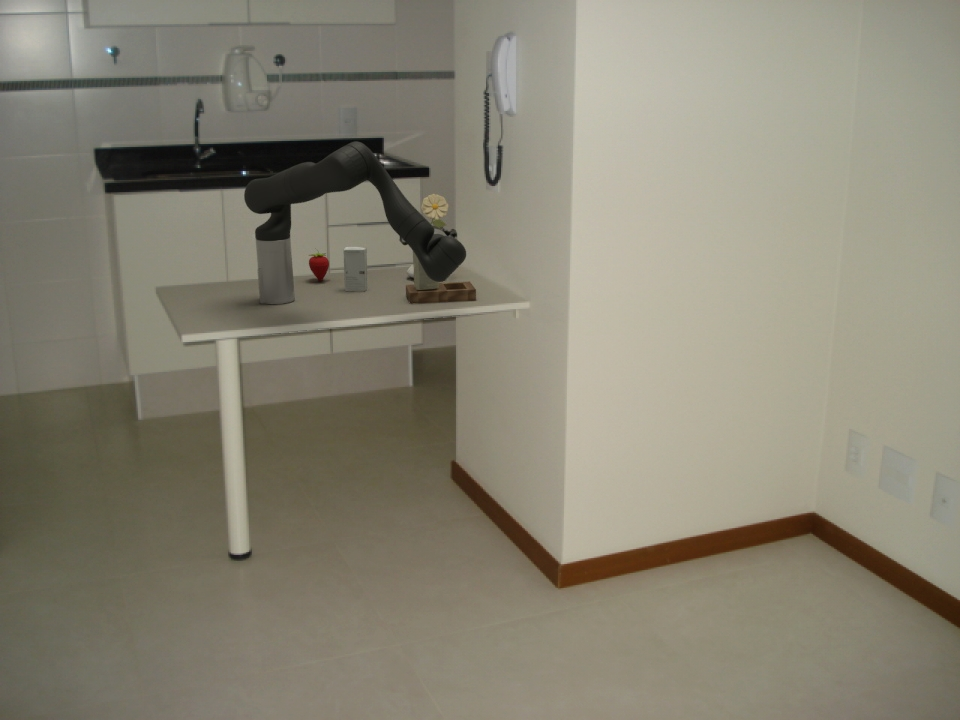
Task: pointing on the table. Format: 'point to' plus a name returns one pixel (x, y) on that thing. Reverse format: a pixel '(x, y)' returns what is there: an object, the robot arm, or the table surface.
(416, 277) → the skincare box
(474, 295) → the wooden box
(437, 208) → the flower in vase
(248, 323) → the table surface
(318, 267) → the strawberry
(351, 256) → the skincare box
